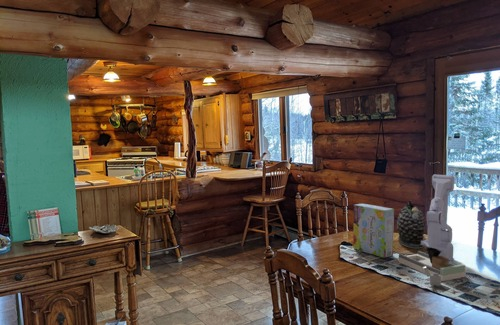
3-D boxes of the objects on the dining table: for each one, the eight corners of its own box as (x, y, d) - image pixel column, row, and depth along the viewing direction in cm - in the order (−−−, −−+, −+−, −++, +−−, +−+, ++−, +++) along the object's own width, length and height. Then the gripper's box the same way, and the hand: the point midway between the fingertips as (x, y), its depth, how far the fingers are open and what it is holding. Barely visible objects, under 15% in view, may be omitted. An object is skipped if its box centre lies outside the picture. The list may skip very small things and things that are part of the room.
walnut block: (440, 265, 191) (440, 255, 190) (448, 269, 186) (448, 258, 186) (431, 267, 189) (432, 256, 189) (440, 270, 184) (440, 260, 184)
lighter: (439, 284, 175) (440, 266, 174) (440, 285, 173) (441, 268, 172) (422, 283, 176) (422, 265, 176) (423, 284, 175) (423, 267, 174)
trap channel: (419, 258, 209) (419, 248, 209) (465, 276, 183) (465, 265, 182) (398, 261, 204) (398, 251, 204) (441, 281, 178) (442, 269, 178)
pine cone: (431, 249, 223) (432, 205, 220) (404, 250, 223) (405, 206, 221) (416, 239, 244) (417, 199, 241) (391, 239, 244) (392, 199, 241)
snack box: (394, 255, 214) (395, 208, 212) (384, 258, 209) (384, 210, 207) (362, 246, 232) (362, 202, 229) (352, 248, 227) (352, 204, 225)
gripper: (416, 232, 196) (415, 259, 197) (439, 240, 182) (438, 269, 183) (427, 231, 198) (426, 257, 199) (451, 238, 184) (450, 267, 186)
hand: (433, 263), depth 191 cm, fingers closed
